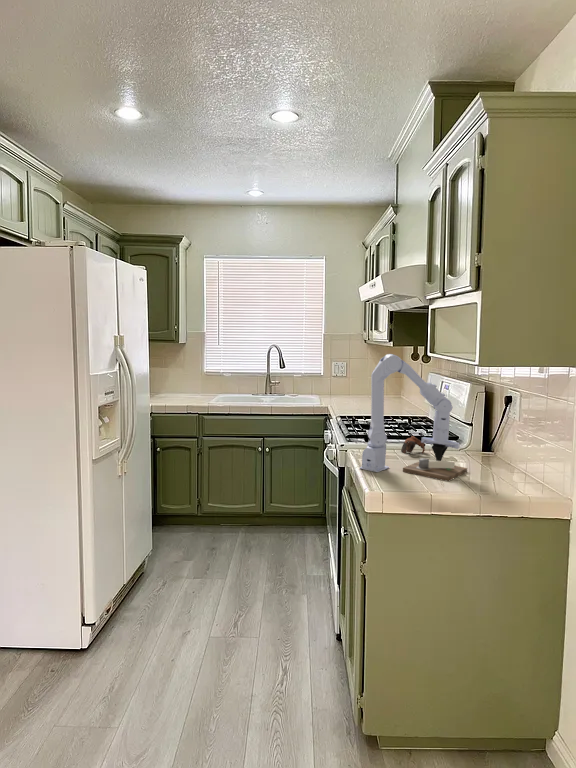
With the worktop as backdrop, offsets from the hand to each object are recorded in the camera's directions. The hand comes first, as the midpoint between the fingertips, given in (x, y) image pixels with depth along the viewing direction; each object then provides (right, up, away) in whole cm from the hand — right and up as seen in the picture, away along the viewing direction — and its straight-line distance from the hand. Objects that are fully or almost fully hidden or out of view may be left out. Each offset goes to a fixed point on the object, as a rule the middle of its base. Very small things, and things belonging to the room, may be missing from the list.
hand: (438, 463), depth 217 cm
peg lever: (-2, -1, -2) cm, 3 cm away
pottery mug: (-4, 0, +30) cm, 30 cm away
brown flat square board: (-2, -3, -1) cm, 3 cm away
